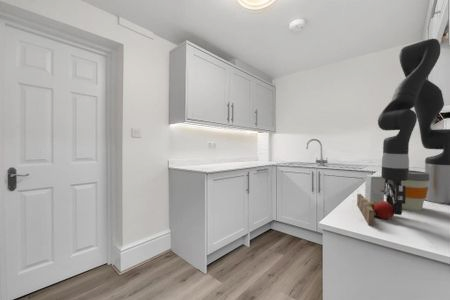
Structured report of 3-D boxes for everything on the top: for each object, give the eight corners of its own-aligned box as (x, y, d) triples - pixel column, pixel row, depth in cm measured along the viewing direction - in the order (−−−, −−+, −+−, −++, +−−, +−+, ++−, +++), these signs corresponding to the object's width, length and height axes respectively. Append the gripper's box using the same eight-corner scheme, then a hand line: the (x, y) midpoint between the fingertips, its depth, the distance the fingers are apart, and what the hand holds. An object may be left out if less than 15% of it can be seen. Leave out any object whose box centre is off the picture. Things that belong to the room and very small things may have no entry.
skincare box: (370, 203, 92) (371, 176, 92) (364, 200, 97) (364, 174, 96) (384, 203, 92) (385, 176, 91) (377, 200, 96) (378, 174, 96)
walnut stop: (357, 205, 89) (357, 193, 89) (360, 205, 89) (361, 194, 89) (368, 225, 68) (369, 210, 68) (373, 226, 67) (374, 210, 67)
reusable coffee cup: (386, 206, 87) (387, 171, 86) (390, 200, 96) (391, 168, 95) (427, 214, 78) (429, 175, 77) (428, 207, 87) (429, 171, 86)
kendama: (352, 208, 89) (374, 217, 72) (355, 193, 90) (377, 199, 72) (372, 212, 88) (399, 223, 70) (374, 198, 88) (402, 204, 71)
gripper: (416, 169, 66) (414, 219, 66) (401, 164, 79) (399, 206, 79) (387, 167, 69) (386, 215, 70) (377, 163, 82) (376, 203, 83)
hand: (393, 210), depth 75 cm, fingers open, 8 cm apart
